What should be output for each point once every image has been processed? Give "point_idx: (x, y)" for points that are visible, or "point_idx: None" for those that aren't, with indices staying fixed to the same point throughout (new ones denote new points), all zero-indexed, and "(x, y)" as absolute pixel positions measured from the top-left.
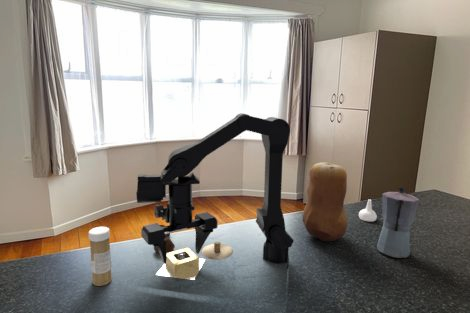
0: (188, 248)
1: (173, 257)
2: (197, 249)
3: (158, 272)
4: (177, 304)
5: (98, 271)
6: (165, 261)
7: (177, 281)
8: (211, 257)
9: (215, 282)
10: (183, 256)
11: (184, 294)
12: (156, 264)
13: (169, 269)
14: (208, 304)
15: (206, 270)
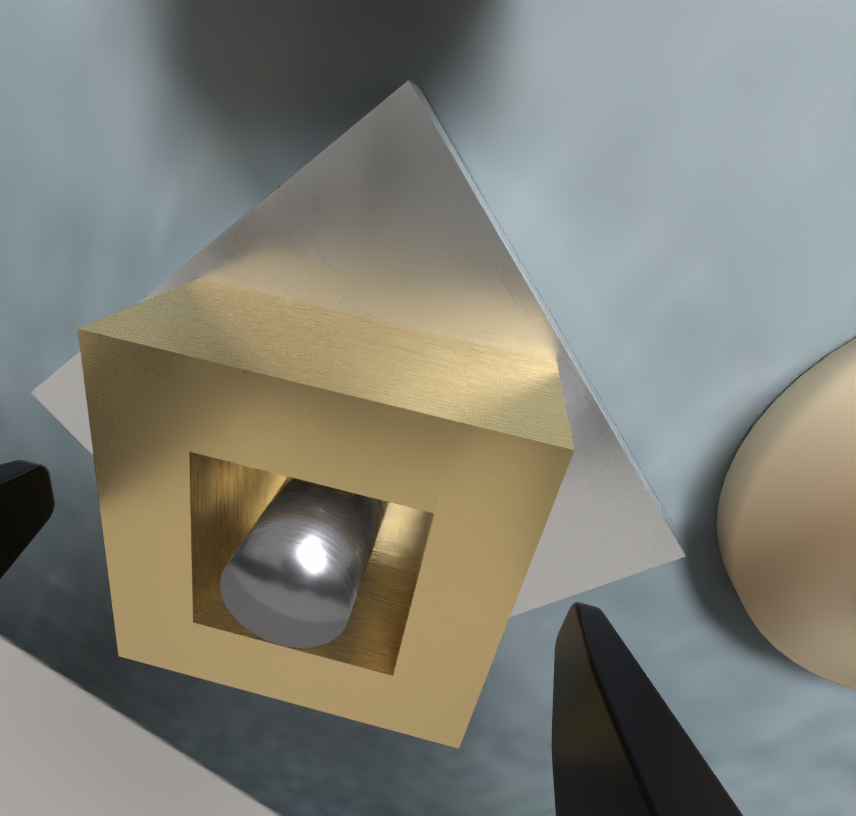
0: (548, 488)
1: (169, 522)
2: (562, 713)
3: (69, 377)
4: (129, 694)
5: None
6: (9, 551)
7: None
8: (771, 580)
9: (470, 738)
10: (284, 639)
11: None
12: (154, 89)
13: None
14: (285, 797)
15: (549, 613)
